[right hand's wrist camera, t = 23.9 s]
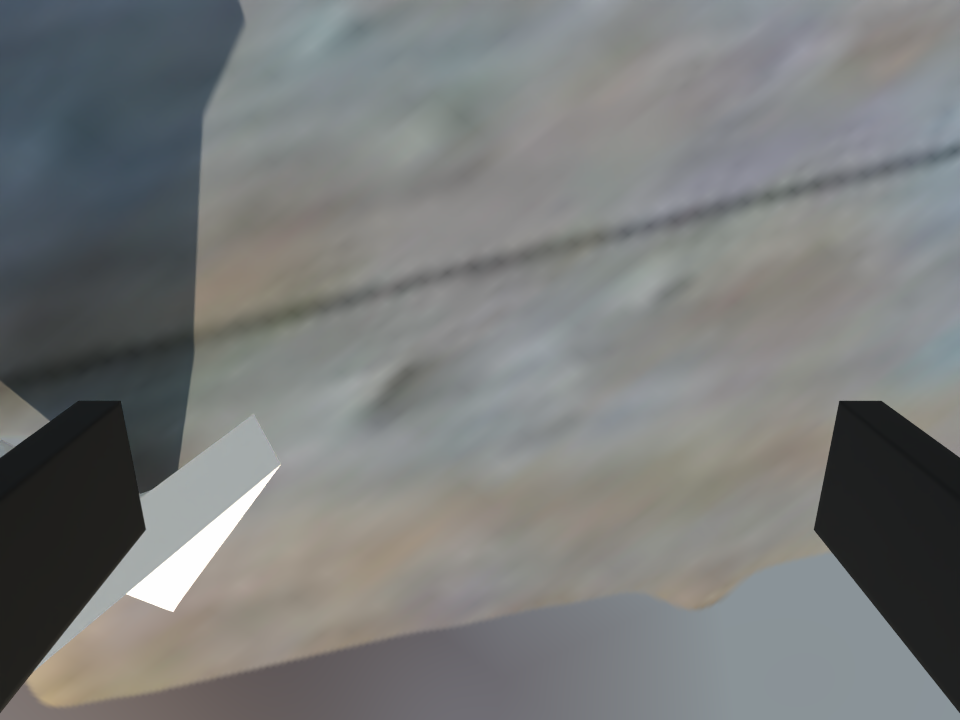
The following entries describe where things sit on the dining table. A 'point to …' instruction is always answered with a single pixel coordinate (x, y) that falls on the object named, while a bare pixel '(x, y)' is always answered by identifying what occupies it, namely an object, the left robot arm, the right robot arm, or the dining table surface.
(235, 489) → the white plastic object
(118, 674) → the dining table surface
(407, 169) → the dining table surface
